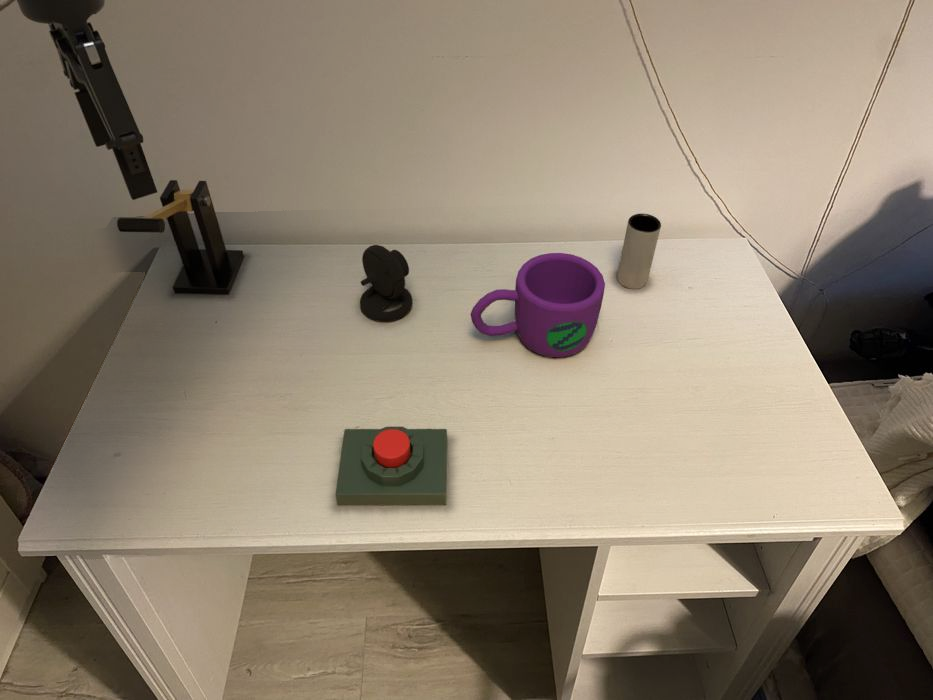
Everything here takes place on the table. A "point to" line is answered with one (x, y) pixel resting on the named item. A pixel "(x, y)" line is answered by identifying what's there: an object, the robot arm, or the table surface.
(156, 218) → the switch lever
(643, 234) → the grey hollow cylinder
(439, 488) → the button block
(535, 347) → the mug
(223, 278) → the switch bracket
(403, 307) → the webcam
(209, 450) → the table surface
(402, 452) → the red button
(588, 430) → the table surface
